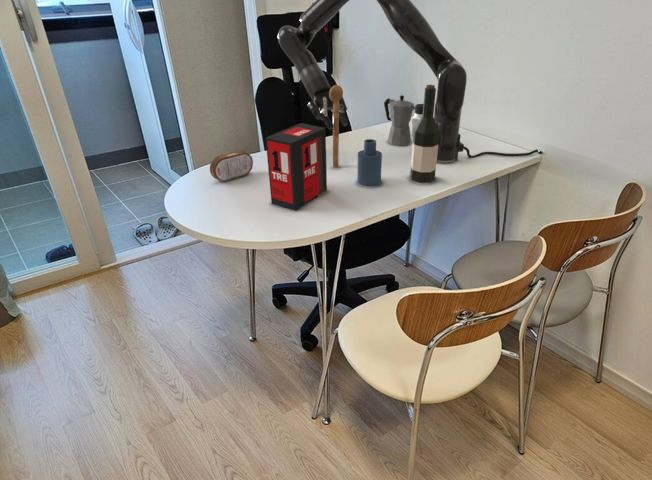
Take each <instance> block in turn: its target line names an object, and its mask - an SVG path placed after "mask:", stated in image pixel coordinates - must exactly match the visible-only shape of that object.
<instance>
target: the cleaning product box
mask: <svg viewBox="0 0 652 480" xmlns="http://www.w3.org/2000/svg"><path fill="white" fill-rule="evenodd" d="M326 136H327V135H326V127H323V126H319V125H312V124H308V123H303V122H300V123H298V124H295V125H292V126H291V127H288V128H286V129H283V130H280V131H278V132H275V133H274V134H270V135H268V136H266V137H265V146H266V147H265V148H266V157H267V169H268V179H269V180H268V181H269V191H270V200H271V201H270V202H271V205H274V206H276V207H277V206H278V207H281V208H285V209H289V210H292V211H298V210H299V209H301V208H302V207H305V206H306V205H307V204H310V203H311V202H313V201H314V200H316V199H317V198H319V195H321V194H322V193H324V192H326V191H327V190H328V179H327V178H328V177H327V175H328V174H327V173H328V172H327V137H326Z"/></svg>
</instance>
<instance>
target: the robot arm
mask: <svg viewBox="0 0 652 480" xmlns="http://www.w3.org/2000/svg"><path fill="white" fill-rule="evenodd" d="M349 1H350V0H315V1H314V2H313V3H311V5H310V6H309V7H307V8H306V9H305V11H304V12H303V13H302V14H301V15H300V17H299V21H300V25H299V26H298V27H297V28H296V27H293V26H291V25H284V26H282V27H281V28H279V31H278V33H277V41H278V44H279V46H280V48H281V49H282V51H283V53H285V55H286V56H287V57H288V58H289V60H290V61H291V62H292V64H293V65H294V68H295V69H296V71H297V73H298V75H299V77H300V80H301V82H302V84H303V86H304V88H305V90H306V92H307V94H308V95H309V98H310V99H311V100H310V101H309V102H308V104H307V108H308V110H309V111H310V112H311V114H312V115H313V117H315V119H316V120H318V121H319V120H321V121H323V123H324V125H325V128H327V129H328V130H329V131H331V130H333V121H332V120H331V118H330V116H329V115H328V111H331V112H332V113H333V101H331V100H330V97H329V92H330V89H331V88H332V86H331V85H330V83H329V81H328V80H327V77H326V75H325V73H324V72H323V69H321V67H320V66H319V64H318V62H317V60H316V58H315V56H314V55H313V53H312V52H311V51H310V50H308V49H307V48H308V46H309V45H310V44H311V43H312V40H313V39H314V38H315V36H316V34H317V33H318V32H319V31H320V30H321V29H322V28H323V27H324V26H326V25H327V23H328V22H330V21H331V20H332V19H333V18H334V16H336V14H337V13H338V12H339V11H340V10H341V9H342V8H343V7H344V6H345V5H346V4H347V3H348V2H349ZM376 2H377V3H378V4H379V6H380V7H381V9H382V11H383V13H384V15H385V16H386V19H387V20H388V22H389V24H390V25H391V26H392V28H393V30H394V31H395V32H396V33H397V35H398V36H399V37H400V38H401V40H402V41H403V42H404V43H405V44H406V45H407V46H408V47H409V48H410V50H411V51H413V52H414V53H415V54H417V55H418V56H419V57H420V58H421V59H422V60H423V61H424V62H425V63H426V65H428V67H429V68H430V70H431V71H432V73H433V75H434V76H435V77H436V79H437V89H436V98H435V105H434V115H433V118H434V120H435V122H436V124H437V126H438V129H439V131H440V134H439V143H438V153H437V162H436V164H437V163H438V164H451V163H454V162H457V161H458V159H459V153H461V152H462V153H463V152H464V151H466V156H467V158H469V159H473V158H474V159H475V158H478V157H480V156H484V155H492V156H500V157H501V156H502V157H525V156H531V155H534V154H536V153H539V154H540V155H542V154H544V152H543V150H541V151H540V152H538V149H537V148H536V149H534V150H531V151H529V152H521V153H506V152H496V151H482V152H479V153H477V154H475V155H472V154H471V152H470V149H469V148H468V147H467V146H465V144H464V143H463V142H462V141H461V136H462V135H461V134H460V126H461V119H462V109H463V106H464V103H465V102H464V101H465V94H466V89H467V88H466V87H467V81H468V80H467V79H468V77H467V76H468V75H467V71H466V69H465V68H464V66H463V65H462V64H461V62H460V61H459V60H457V59H456V58H455V57H454V56H453V55H452V54H451V53H450V52H449V50H448V49H446V47H445V46H444V45H443V44H442V43H441V41H440V40H439V38H438V36H437V34H436V32H435V31H434V29H433V27H432V26H431V25H430V23H429V22H428V21H427V19H426V17H425V16H424V15H423V14H422V13H421V11H420V10H419V9H418V8H417V7H416V6H415V4H414V3H413V2H412V1H411V0H376ZM347 111H348V107H347V104H346V101H345V99H344V95H343V96H342V98H341V100H340V101H339V122H340V123H341V125H342V126H343V127H347V125H348V124H349V122H348V118H347V116H346V115H345V113H346V112H347Z"/></svg>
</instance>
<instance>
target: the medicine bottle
mask: <svg viewBox="0 0 652 480" xmlns="http://www.w3.org/2000/svg"><path fill="white" fill-rule="evenodd" d="M423 104H424V102H422V103H421V102H420V103H417V104H415V105H414V106H415V109H414V114H413V115H412V117H411V128H410V137H413V131H414V127H415V126H416V125H417V123H418V122H419V120H420V119H421V117H422V116H423Z"/></svg>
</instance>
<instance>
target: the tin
mask: <svg viewBox="0 0 652 480" xmlns="http://www.w3.org/2000/svg"><path fill="white" fill-rule="evenodd" d="M253 165H254V160H253V157H252V155H251V154H250V153H248V152H246V150H242V149H238V150H235V151H231V152H227V153H223V154H218V155H217V156H215V157H214V158H213V159H212V161H211V162H210V165H209V172H210V175H211V176H212V178H213V179H215V180H217V181H219V182H229V181H233V180H235V179H239V178H242V177H245V176H247V175H249V174H250V173H251V171H252V170H253Z"/></svg>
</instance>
